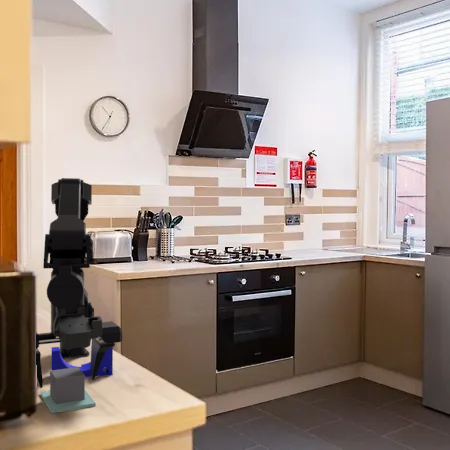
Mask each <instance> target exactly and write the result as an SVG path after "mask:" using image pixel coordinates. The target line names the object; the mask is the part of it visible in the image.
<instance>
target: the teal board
mask: <svg viewBox="0 0 450 450" xmlns="http://www.w3.org/2000/svg"><path fill="white" fill-rule="evenodd" d="M40 396H41V398H42V400H43V401H44V403H45V405H46V407H47V409H48V411H49V412H50V414H54V413H62V412H68V411H73V410H79V409H85V408H86V409H87V408H91V407H97V406H96V402H95V400H94V399H93V398H92V397H91V395H90V394H89V393H88V391H86V389H85V400H79V401H73V402H67V403H61V404H55V402H54V400H53V399H52V397H51V396H50V390H48V389H47V390H44V391H40Z"/></svg>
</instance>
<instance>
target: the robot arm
mask: <svg viewBox="0 0 450 450" xmlns="http://www.w3.org/2000/svg"><path fill="white" fill-rule="evenodd" d="M92 187H93V186H92V184H90V183H87V182H84V179H81V178H75V177H74V178H70V177H67V178H65V177H62V178H60V179H59V178H58V180H57V182H54V183H52V184H51V189H50V190H51V191H50V192H51V194H50V197H51V198H50V201H51V204H52V205H54V211H55V212H54V213H55V215H56V216H57V218H56V219H55V220H53V221H52V222H50V224H49V231H48V233H45V235H44V246H43V247H44V250H43V269H52V271H51V272H50V280H49V282H48V283H47V284H48V285H47V287H46V297H47V299H48V301H49V303H50V332H42V333H40V332H39V333H38V332H37V331H36V365H37V379H36V381H37V384H38V386H39V388H40V389H43V388H44V387H43V386H44V383H43V382H44V379H43V370H42V362H41V361H42V360H41V358H42V357H41V356H42V354H41V351H40V350H39V349H38V348H39V347H40V345H48V344H49V345H50V344H57V343H59V350H60V354H61V356H62V358H63V359H65V358H67V359H68V358H75V357H81V356H89V355H90V362H91V368H90V372H91V377H90V379H91V381H95V380H96V377H97V376H96V375H97V372H98V369H99V367H100V364H101V361H102V359H103V357H104V355H105V353H106V351H107V350H108V349H109V348H111V347H113V348H114V347H115V346H116V343H121V342H123V330H122V328H121V326H119V325H118V324H116V323H115V322H114V321H112V320H111V321H103V319H102V317H101V315H97V316H95V308H94V307H93V305H92V302H89V293H88V292H87V290H86V288H85V271H84V269H88V268H89V269H90V268H91V267H90V263H91V264H93V263H94V240H93V238H92V235H90V233H87V227H86V225H87V224H86V222H85V219H86V218H87V216H88V214H89V206H91V205H92V198H93V196H92V194H93V193H92V192H93V191H92ZM85 259H86V261H85ZM90 346H91V349H90V352H89V350H88V349H86V348H89V347H90Z"/></svg>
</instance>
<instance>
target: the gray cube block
mask: <svg viewBox="0 0 450 450" xmlns="http://www.w3.org/2000/svg"><path fill="white" fill-rule="evenodd" d="M78 367H79V366H77V367H74V368H67V369H59V370H52V369H51V370H50V372H49V376H50V377H49V378H50V379H49V385H50V386H49V387H50V388H49V389H50V396H51V397H52V399H53V400H54V402H55V404H61V403H67V402H73V401H79V400H85V390H86V387H85V386H86V384H85V383H86V382H85V380H86V379H85V378H86V377H85V375H84V373H83V372H82V371H81V370H80V369H79V368H78Z"/></svg>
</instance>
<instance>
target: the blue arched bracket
mask: <svg viewBox="0 0 450 450" xmlns="http://www.w3.org/2000/svg"><path fill="white" fill-rule="evenodd" d="M113 348H114V347H111V348H109V349H108V350H107V351H106V353H105V355H104V357H103V359H102V361H101V364H100V367H99V369H98V372H97V375H96V377H104V376H106V377H107V376H113V367H114V366H113V360H114V359H113V357H114V356H113V354H114V353H113V352H114V351H113ZM59 349H60V346H52V347H51V370H59V369H67V368H74V367H78V368H79V369H80V370H81V371H82V372H83V373H84V375H85V378H91V372H90V368H91V361H89V362H87V363H83V364H81V365H80V366H78V365H77V366H76V365H72V364H71V363H69V362H67V361H66V360H65V358H62V356H61V354H60V350H59Z"/></svg>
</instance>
